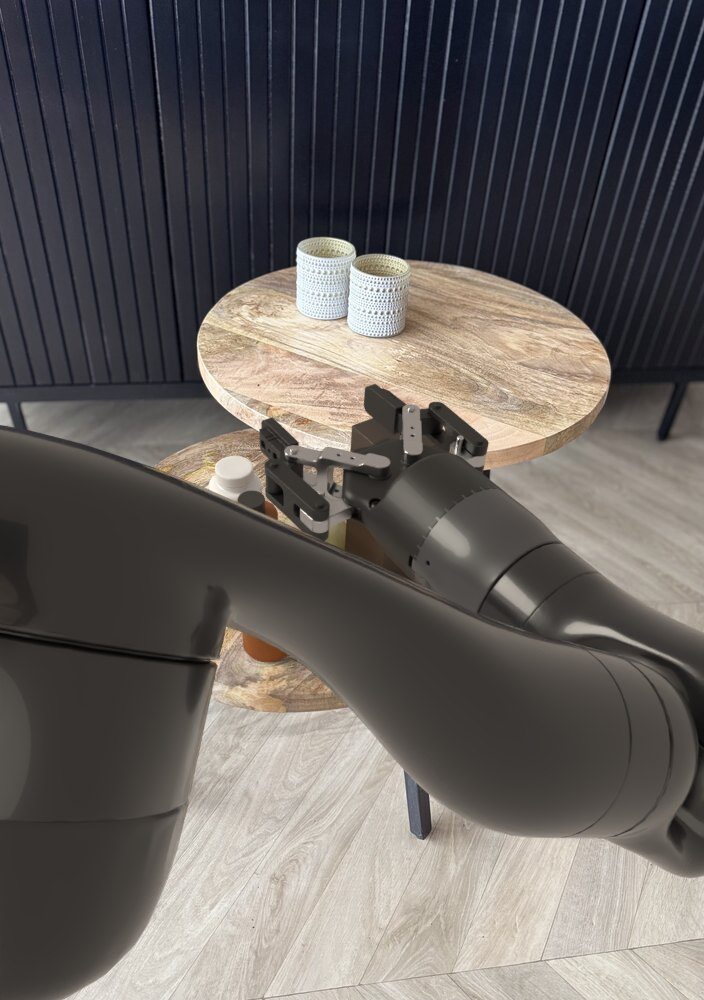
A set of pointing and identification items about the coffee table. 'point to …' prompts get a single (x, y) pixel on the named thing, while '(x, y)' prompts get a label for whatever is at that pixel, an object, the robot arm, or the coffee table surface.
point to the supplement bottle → (234, 477)
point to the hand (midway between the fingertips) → (318, 412)
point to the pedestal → (356, 534)
